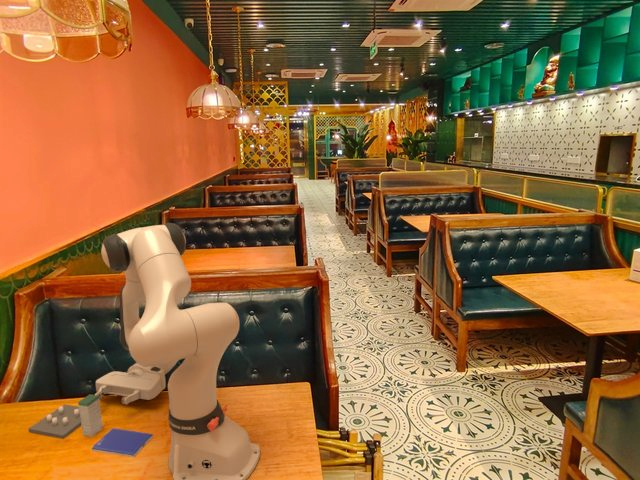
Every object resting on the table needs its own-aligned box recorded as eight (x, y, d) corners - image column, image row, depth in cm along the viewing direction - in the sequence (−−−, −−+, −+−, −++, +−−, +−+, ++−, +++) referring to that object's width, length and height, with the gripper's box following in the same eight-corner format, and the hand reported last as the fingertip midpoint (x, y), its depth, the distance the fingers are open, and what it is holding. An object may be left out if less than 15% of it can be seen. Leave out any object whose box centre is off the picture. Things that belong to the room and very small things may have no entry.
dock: (97, 412, 126) (96, 403, 126) (63, 438, 115) (62, 428, 114) (64, 407, 130) (63, 398, 129) (28, 431, 118) (27, 422, 118)
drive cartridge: (103, 427, 119) (98, 395, 117) (92, 437, 116) (87, 403, 113) (94, 426, 120) (89, 394, 118) (83, 435, 116) (78, 402, 114)
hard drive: (91, 447, 110) (133, 454, 107) (113, 427, 118) (152, 433, 115) (92, 452, 110) (134, 459, 108) (114, 432, 118) (153, 438, 115)
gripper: (113, 363, 139) (79, 385, 126) (168, 370, 133) (138, 394, 120) (115, 380, 140) (82, 404, 127) (170, 388, 134) (140, 414, 121)
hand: (110, 399), depth 123 cm, fingers open, 8 cm apart
